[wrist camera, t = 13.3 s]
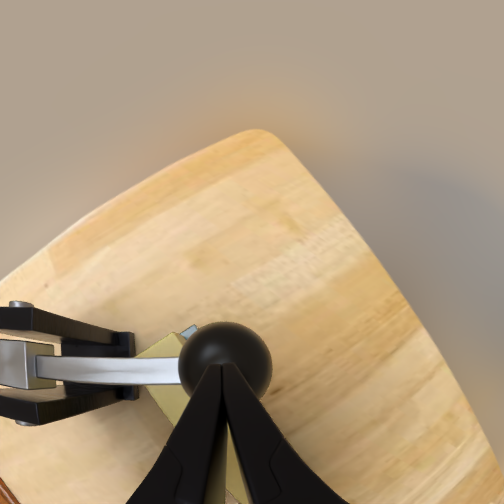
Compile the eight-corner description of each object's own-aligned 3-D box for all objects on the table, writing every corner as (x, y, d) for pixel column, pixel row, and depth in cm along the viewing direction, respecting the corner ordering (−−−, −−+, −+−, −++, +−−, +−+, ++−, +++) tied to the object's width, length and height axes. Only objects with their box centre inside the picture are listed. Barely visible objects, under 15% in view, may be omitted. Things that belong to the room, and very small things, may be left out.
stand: (134, 326, 21) (47, 294, 10) (140, 404, 20) (56, 440, 8) (67, 327, 21) (-36, 296, 10) (72, 400, 19) (-31, 415, 8)
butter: (306, 489, 16) (317, 508, 13) (268, 513, 15) (273, 534, 12) (182, 335, 19) (173, 331, 16) (144, 360, 19) (128, 360, 16)
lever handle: (264, 322, 14) (269, 311, 10) (273, 401, 12) (281, 416, 9) (23, 331, 13) (-20, 321, 10) (27, 395, 12) (-16, 397, 8)
